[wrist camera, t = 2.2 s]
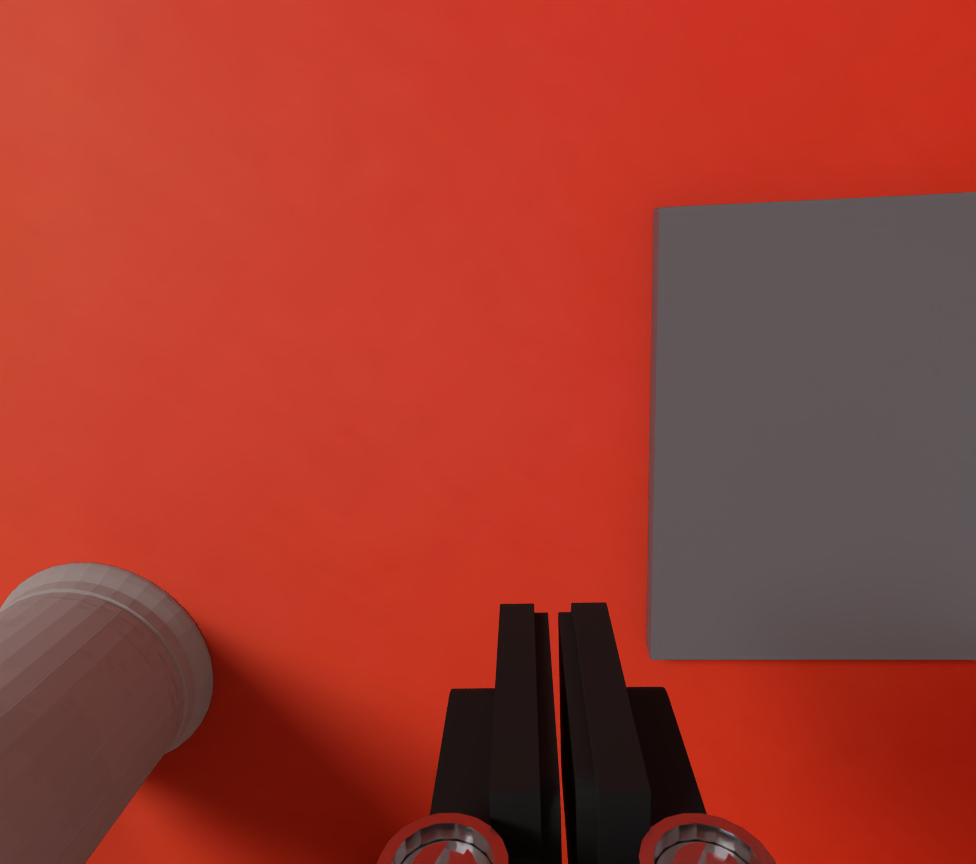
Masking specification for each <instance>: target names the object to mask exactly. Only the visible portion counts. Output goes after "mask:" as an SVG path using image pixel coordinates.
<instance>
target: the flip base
mask: <svg viewBox="0 0 976 864" xmlns="http://www.w3.org/2000/svg"><path fill="white" fill-rule="evenodd" d="M646 645H647V648H648V652H649V656H650V659H651V660H976V192H971V193H951V194H930V195H909V196H888V197H867V198H847V199H826V200H805V201H784V202H763V203H743V204H722V205H701V206H680V207H659V208H656V209H654V223H653V281H652V339H651V397H650V455H649V513H648V571H647V629H646Z"/></svg>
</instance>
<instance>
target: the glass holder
mask: <svg viewBox="0 0 976 864" xmlns="http://www.w3.org/2000/svg"><path fill="white" fill-rule="evenodd" d="M212 694H213V670H212V663H211V657H210V655H209V652H208V649H207V646H206V643H205V640H204V639H203V637H202V635H201V633H200V631H199V630H198V628H197V626H196V624H195V623H194V621H193V620H192V619H191V618H190V616H189V615H188V614H187V613H186V611H185V610H184V609H183V608H182V607H181V606H180V605H179V604H178V603H177V602H176V601H175V600H174V599H173V598H172V597H171V596H170V595H169V594H168V593H166V592H165V591H163V590H162V589H160V588H159V587H157V586H156V585H155V584H153V583H152V582H150V581H148V580H146V579H144V578H142V577H140V576H138V575H136V574H134V573H132V572H129V571H126V570H123V569H120V568H117V567H113V566H109V565H102V564H96V563H69V564H64V565H58V566H53V567H51V568H48V569H46V570H43V571H40V572H38V573H36V574H34V575H33V576H31V577H30V578H28V579H27V580H25V581H23V582H22V583H21V584H20V585H19V586H18V587H17V588H16V589H15V590H14V591H13V592H12V593H11V594H10V595H9V596H8V597H7V599H6V601H5V602H4V604H3V605H2V607H1V608H0V864H85V863H86V861H87V860H88V858H89V857H90V856H91V854H92V853H93V852H94V850H95V849H96V847H97V846H98V845H99V843H100V842H101V841H102V839H103V838H104V836H105V835H106V834H107V832H108V831H109V830H110V828H111V827H112V825H113V824H114V823H115V821H116V820H117V819H118V817H119V816H120V814H121V813H122V812H123V810H124V809H125V808H126V806H127V805H128V803H129V802H130V801H131V799H132V798H133V797H134V795H135V794H136V792H137V791H138V790H139V788H140V787H141V786H142V784H143V783H144V781H145V780H146V779H147V777H148V776H149V775H150V773H151V772H152V770H153V769H154V768H155V766H156V765H157V764H158V762H159V761H160V759H161V758H162V757H163V755H165V754H166V753H168V752H170V751H172V750H174V749H176V748H177V747H179V746H180V745H181V744H182V743H184V742H185V741H186V740H187V739H188V738H190V737H191V736H192V734H193V733H194V732H195V731H196V729H197V728H198V727H199V726H200V724H201V723H202V721H203V719H204V717H205V715H206V713H207V711H208V709H209V706H210V702H211V698H212Z"/></svg>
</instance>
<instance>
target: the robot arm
mask: <svg viewBox="0 0 976 864" xmlns="http://www.w3.org/2000/svg"><path fill="white" fill-rule="evenodd" d="M558 626H559V677H560V729H561V769H562V786H563V799H564V812H565V826H566V839H567V853H568V864H776V862H775V860H774V859H773V857H772V856H771V855H770V853H769V852H768V851H767V849H766V848H765V847H764V846H763V844H762V843H761V842H760V841H759V840H758V839H757V838H755V837H754V836H753V835H751V834H750V833H749V832H748V831H746V830H745V829H744V828H742V827H740V826H738V825H736V824H734V823H732V822H730V821H728V820H726V819H723V818H720V817H716V816H711V815H707V814H706V811H705V808H704V805H703V801H702V798H701V795H700V792H699V789H698V786H697V783H696V780H695V777H694V774H693V771H692V768H691V765H690V762H689V758H688V755H687V752H686V749H685V746H684V743H683V740H682V737H681V734H680V731H679V728H678V725H677V722H676V718H675V715H674V712H673V709H672V706H671V703H670V700H669V697H668V694H667V692H666V690H665V688H663V687H626V684H625V680H624V676H623V672H622V667H621V663H620V659H619V655H618V650H617V646H616V642H615V638H614V633H613V629H612V625H611V621H610V617H609V612H608V608H607V604H606V603H571V612H559V613H558ZM377 864H562V852H561V806H560V783H559V766H558V752H557V738H556V724H555V709H554V695H553V681H552V666H551V652H550V638H549V623H548V613H534V604H500V617H499V633H498V649H497V666H496V682H495V688H480V689H451V691H450V695H449V701H448V707H447V713H446V719H445V726H444V732H443V738H442V744H441V750H440V756H439V762H438V769H437V775H436V781H435V787H434V793H433V799H432V806H431V812H430V816H426V817H422V818H419V819H417V820H416V821H414V822H412V823H410V824H408V825H406V826H404V827H403V828H402V829H401V830H400V831H399V832H397V833H396V834H395V835H394V836H393V837H392V838H391V839H390V840H389V842H388V843H387V845H386V846H385V848H384V850H383V851H382V853H381V855H380V857H379V859H378V862H377Z"/></svg>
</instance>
